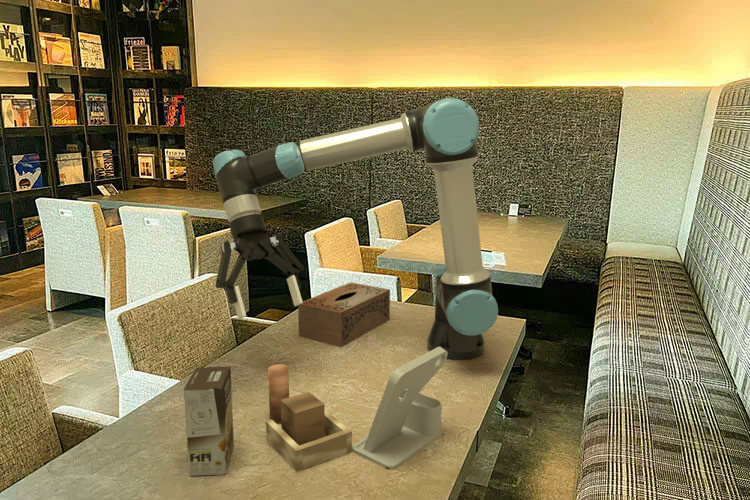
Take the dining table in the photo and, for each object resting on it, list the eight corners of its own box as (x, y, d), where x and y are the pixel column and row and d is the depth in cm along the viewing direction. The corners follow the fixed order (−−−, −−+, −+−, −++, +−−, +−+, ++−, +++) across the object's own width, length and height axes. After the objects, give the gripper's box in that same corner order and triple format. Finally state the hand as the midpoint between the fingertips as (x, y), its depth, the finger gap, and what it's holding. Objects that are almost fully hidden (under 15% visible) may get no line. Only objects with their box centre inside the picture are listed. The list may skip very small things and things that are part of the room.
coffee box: (226, 475, 98) (222, 388, 94) (188, 476, 97) (182, 389, 94) (235, 445, 107) (231, 365, 103) (199, 447, 106) (194, 366, 103)
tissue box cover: (340, 348, 154) (340, 312, 152) (298, 337, 161) (298, 303, 159) (389, 320, 175) (389, 289, 173) (350, 312, 183) (350, 282, 180)
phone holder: (405, 414, 119) (407, 333, 115) (447, 431, 112) (450, 345, 108) (349, 450, 106) (349, 359, 102) (392, 472, 99) (394, 375, 95)
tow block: (262, 418, 116) (260, 368, 114) (288, 410, 120) (287, 361, 117) (296, 453, 105) (295, 397, 102) (324, 443, 108) (324, 389, 105)
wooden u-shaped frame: (266, 440, 109) (265, 421, 108) (319, 422, 115) (318, 404, 114) (296, 472, 99) (296, 451, 98) (352, 451, 105) (352, 431, 104)
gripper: (287, 219, 137) (312, 303, 133) (184, 231, 122) (210, 327, 118) (301, 207, 131) (328, 295, 127) (196, 218, 116) (222, 319, 112)
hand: (271, 311), depth 123 cm, fingers open, 13 cm apart
